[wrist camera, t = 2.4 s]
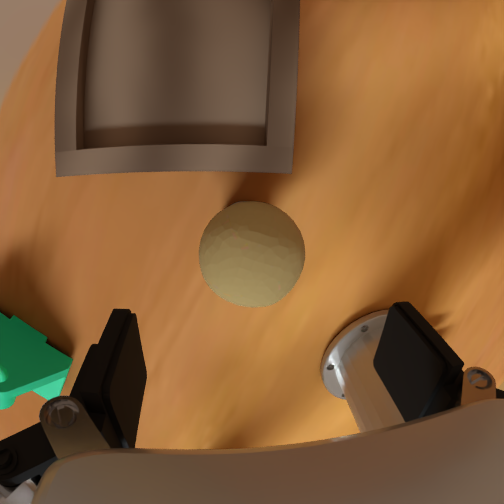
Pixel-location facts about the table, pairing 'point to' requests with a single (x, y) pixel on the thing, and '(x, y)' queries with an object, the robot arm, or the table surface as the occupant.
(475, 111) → the table surface
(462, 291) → the table surface
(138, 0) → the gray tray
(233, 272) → the light bulb
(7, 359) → the camera mount
